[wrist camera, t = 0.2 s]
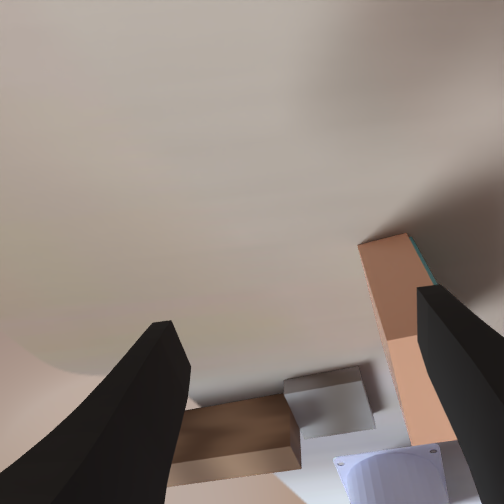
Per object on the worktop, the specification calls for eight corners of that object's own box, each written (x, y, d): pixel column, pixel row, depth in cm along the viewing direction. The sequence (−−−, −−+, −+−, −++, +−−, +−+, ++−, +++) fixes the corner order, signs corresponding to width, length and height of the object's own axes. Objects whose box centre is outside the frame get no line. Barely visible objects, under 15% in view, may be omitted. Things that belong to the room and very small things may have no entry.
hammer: (135, 451, 33) (119, 503, 30) (103, 413, 30) (82, 465, 27) (372, 413, 29) (384, 469, 25) (358, 365, 26) (370, 420, 23)
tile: (426, 329, 24) (473, 437, 18) (380, 338, 25) (412, 446, 19) (410, 231, 21) (461, 326, 15) (357, 244, 21) (386, 340, 15)
